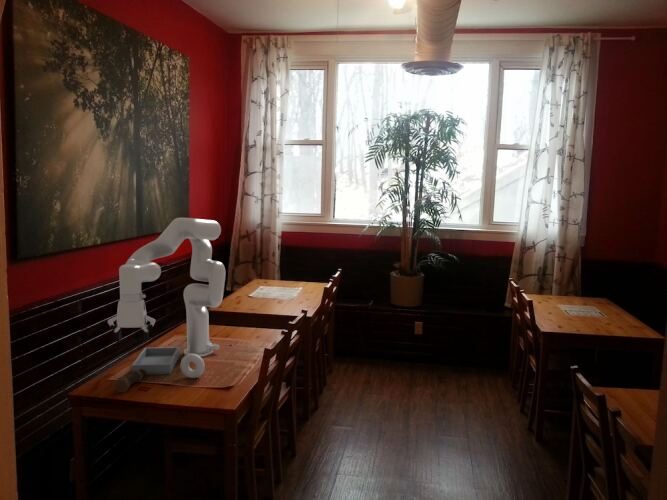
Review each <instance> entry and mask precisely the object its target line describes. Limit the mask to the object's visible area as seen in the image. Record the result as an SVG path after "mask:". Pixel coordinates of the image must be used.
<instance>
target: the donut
mask: <svg viewBox="0 0 667 500" xmlns="http://www.w3.org/2000/svg"><path fill="white" fill-rule="evenodd" d="M180 360H181V361H180V364H179V366H180V370H181V372H182V374H183V375H184V376H185V377H187V378H190V379H196V378H199V377H201V376H202V375H203V374H204V371H205V368H206V367H205V366H206V365H205V361H204V359H203V357H200V356H198V355H197V354H188V355H185V354H184V356H183V357H182V359H180ZM190 363H194V364H195V369H192V368H191V367H190Z"/></svg>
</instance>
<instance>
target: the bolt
mask: <svg viewBox="0 0 667 500" xmlns="http://www.w3.org/2000/svg"><path fill="white" fill-rule="evenodd" d="M145 373H146V371H144V370H143V369H140V370H134V371H132V370H131V372H130V375H128V376H126V377H118V378H117V379H116V381H115V382H114V388H115V390H116V392H118V393H127V392H128V391H129V389H130V386H131V385H132V384H134V383H140V382H141V381H142V379H143V377H145V376H146V374H145Z"/></svg>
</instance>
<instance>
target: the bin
mask: <svg viewBox="0 0 667 500" xmlns="http://www.w3.org/2000/svg"><path fill="white" fill-rule="evenodd" d="M180 349H181V347H180V346H175V347H174V346H169V347H168V346H167V347H163V346H162V347H144V348H143V350H142V351H141V352H140V354H139V355H138V356H137V357H136V359H135V360H134V362H132V364H131V372H132V371H134V370H140V369H143V370H144V371H146V373H145V374H146V375H171V374H172V372H173V370H174V368H175V367H176V365H177V362H178V361H177V360H179V358H180V356H181V350H180ZM146 375H145V376H146Z"/></svg>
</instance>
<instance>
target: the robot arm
mask: <svg viewBox="0 0 667 500" xmlns="http://www.w3.org/2000/svg"><path fill="white" fill-rule="evenodd" d="M221 232H222V227H221V225H220V223H219V222H217V221H216V220H214V219H213V220H212V219H201V218H194V217H193V218H192V217H176V218H174V219H173V220H172V221H171V222H170V224H169V225H167V227H166V228H165V230H163V232H162V233H160V235H159V236H158V237H157V238H156V239H155V240H153V241H151V242H149V243H147V244H145V245H143V246H142V247H140V248H138V249H137V250H136V251H134V252H133V253H132V254H131V256H130V257H129V258H128V259H127V261H126V262H125V264H122V265H121V266H119V269H118V274H119V275H118V277H119V300H118V303H117V311H116V316H113V317H112V318H109V319H108V320H107V321H106V322H107V324H108V325H109V327H110V329H111V330H113V332H114V334H115V341H116V343H117V344H119V343H121V342H122V331H121V329H122V328H123V329H125V328H127V329H129V328H131V329H132V328H134V329H135V328H137V329H138V328H139V329H140V328H141V329H142V330H143V333H142V334H143V338H142V339H143V343H147V342H148V340H150V336H149V333H150V332H149V331H150V330H151V329H152V328H153V327H154V325H155V323H156V321H157V320H156V319H155V318H153V317H151V316H149V315H147V308H146V303H145V300H144V299H145V298H146V297H147V296H146V294H145V293H143V292H142V283H146V282H147V283H148V282H149V283H151V282H154V281H156V280H157V279H159V278H160V276H161V273H162V269H161V266H160V265H159V264H157V263H156V262H155V261H154V262H153V260H157V259H159V258H164V257H168V256H171V255H173V254H174V253H175V252H176V251H177V249H178V248H179V247H180V245H181V244H182V243H183V242H184V240H186V239H189V241H190V243H191V248H192V253H191V259H190V260H191V261H190V268H189V276H190V278H192V279H193V280H195V281H200V282H208V284H204V283H196V282H195V283H190V284H188V285H187V286H185V288H184V289H183V301H184V305H185V309H186V310H185V311H186V314H185V315H186V338H187V340H186V343H187V347H186V348H185V349H184V350H183V354H184V356H185V355H188V354H197V355H198V356H200V357H201V358H203V357H206V356H210V355H211V354H212V353H213V352H214V350H220V345H219V344H218V343H212V342H211V340H210V326H209V324H210V322H209V314H210V313H209V310H208V308H218V307H219V306H220V305H221V304H222V302H223V297H224V292H225V282H226V268H225V265H224V263H223V262H221V261H218V260H212V257H213V256H212V255H213V247H212V243H211V242H210V241H215V240H216V239H219V236H220V235H221V234H222V233H221ZM114 322H116V324H114ZM148 322H150V323H149V325H148V324H147V323H148Z"/></svg>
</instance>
